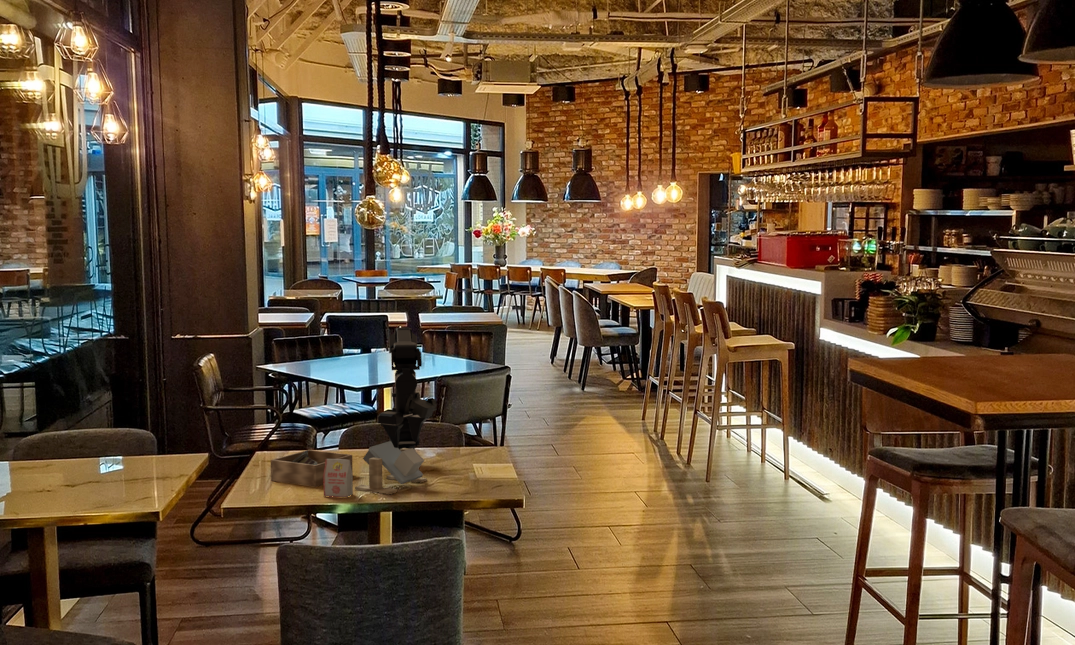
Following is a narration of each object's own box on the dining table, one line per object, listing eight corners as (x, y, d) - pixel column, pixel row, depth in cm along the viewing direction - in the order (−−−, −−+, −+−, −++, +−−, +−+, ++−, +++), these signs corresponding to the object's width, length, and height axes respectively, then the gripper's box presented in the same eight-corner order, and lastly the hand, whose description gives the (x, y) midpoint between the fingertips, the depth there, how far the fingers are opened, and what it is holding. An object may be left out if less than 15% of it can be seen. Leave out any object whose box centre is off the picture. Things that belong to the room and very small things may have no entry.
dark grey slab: (361, 458, 261) (369, 447, 259) (383, 452, 270) (391, 440, 268) (394, 493, 256) (402, 482, 255) (415, 485, 265) (423, 474, 264)
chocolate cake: (291, 485, 265) (318, 452, 270) (274, 475, 268) (302, 443, 273) (305, 501, 272) (331, 468, 277) (288, 491, 276) (314, 459, 281)
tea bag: (329, 493, 254) (328, 457, 253) (352, 494, 252) (352, 458, 252) (323, 497, 250) (323, 460, 249) (347, 498, 249) (346, 461, 248)
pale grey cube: (393, 464, 259) (402, 451, 257) (403, 460, 264) (412, 447, 262) (405, 476, 257) (414, 463, 256) (415, 472, 262) (424, 460, 260)
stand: (355, 489, 258) (354, 457, 257) (392, 476, 273) (392, 446, 273) (390, 494, 252) (390, 461, 252) (426, 480, 268) (426, 450, 267)
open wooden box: (271, 480, 268) (270, 460, 268) (309, 469, 283) (308, 449, 282) (315, 486, 261) (315, 465, 260) (352, 474, 275) (352, 454, 275)
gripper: (410, 395, 247) (410, 453, 248) (448, 386, 263) (448, 441, 264) (376, 392, 252) (376, 449, 253) (415, 384, 268) (415, 438, 269)
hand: (405, 444), depth 260 cm, fingers open, 9 cm apart
